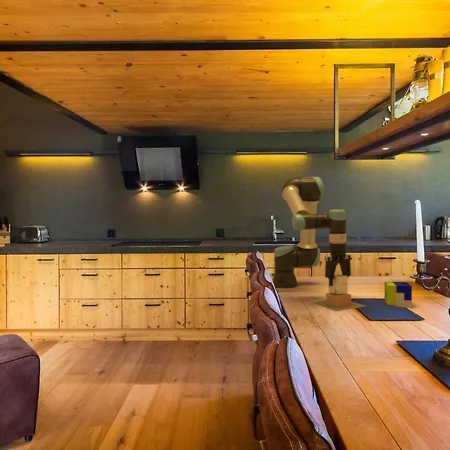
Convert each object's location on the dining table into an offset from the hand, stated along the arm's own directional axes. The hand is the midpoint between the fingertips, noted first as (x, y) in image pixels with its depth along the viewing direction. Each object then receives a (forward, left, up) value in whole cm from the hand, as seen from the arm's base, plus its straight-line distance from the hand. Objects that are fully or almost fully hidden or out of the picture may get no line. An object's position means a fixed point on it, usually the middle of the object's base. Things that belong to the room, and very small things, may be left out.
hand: (338, 291), depth 191 cm
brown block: (0, 0, 0) cm, 0 cm away
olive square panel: (0, 0, -7) cm, 7 cm away
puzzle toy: (+11, +26, -7) cm, 29 cm away
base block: (0, 0, -6) cm, 6 cm away
